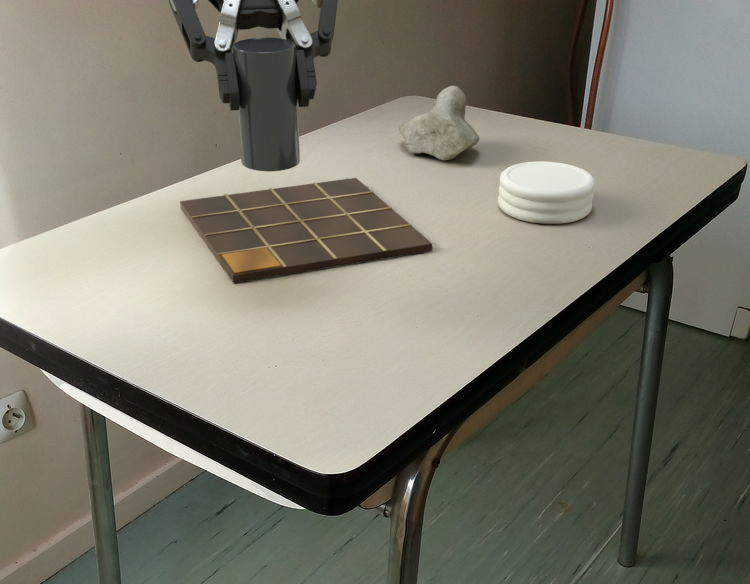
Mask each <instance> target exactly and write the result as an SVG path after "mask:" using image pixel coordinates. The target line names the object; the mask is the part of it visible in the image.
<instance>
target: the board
mask: <svg viewBox="0 0 750 584" xmlns="http://www.w3.org/2000/svg"><path fill="white" fill-rule="evenodd" d="M179 205H180V210H181V211H182V212H183V214H184V215H185V216H186V218H187V219H188V221H189V223H190V224H191V225H192V227H193V228H194V229H195V231H196V232H197V234H198V235H199V237H200V238H201V239H202V241H203V242H204V243H205V245H206V247H207V248H208V249H209V250H210V252H211V253H212V255H213V256H214V258H215V259H216V261H217V262H218V263H219V265H220V267H221V268H222V269H223V270H224V272H225V273H226V275H227V276H228V277H229V279H230V281H231V282H232V283H233V284H237V283H243V282H251V281H256V280H262V279H269V278H275V277H280V276H287V275H294V274H299V273H305V272H311V271H317V270H324V269H329V268H336V267H342V266H348V265H354V264H360V263H368V262H371V261H372V262H373V261H379V260H385V259H390V258H391V259H392V258H398V257H403V256H410V255H416V254H423V253H429V252H432V251H433V243H432V242H431V241H430V240H428V239H427V238H426V237H425V236H424V235H423V234H422V233H421V232H419V230H417V229H416V228H415V227H414V226H413V225H412V223H409V222H408V221H407V220H406V219H405V218H403V217H402V216H401V215H400V214H399V213H397V211H395V210H394V209H393V207H392V206H390V205H388V204H387V203H386V202H385V201H384V200H382V199H381V197H379V196H378V195H377V194H375V191H373V190H371V189H370V188H369V187H368V186H367V185H365V184H364V183H363V182H362V181H361V180H359V179H358V178H357V177H350V178H343V179H335V180H328V181H320V182H316V181H315V182H314V181H313V182H312V183H307V184H306V183H305V184H298V185H291V186H284V187H275V188H273V187H269V188H268V189H261V190H260V189H259V190H254V191H247V192H237V193H230V194H228V193H225V194H224V195H215V196H210V197H209V196H208V197H202V198H201V197H200V198H194V199H186V200H180V201H179Z"/></svg>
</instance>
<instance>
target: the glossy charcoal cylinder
mask: <svg viewBox="0 0 750 584" xmlns="http://www.w3.org/2000/svg"><path fill="white" fill-rule="evenodd" d="M232 53H234V58H235V66H236V73H237V80H238V88H239V96H240V104H239V110H237V119H238V120H237V122H238V133H239V146H240V148H239V149H240V159H241V160H240V162H241V164H242V165H243V167H245V168H247V169H249V170H253V171H258V172H280V171H286V170H290V169H293V168H295V167H296V166H298V165H300V162H301V153H300V152H301V150H300V149H301V148H300V146H301V145H300V127H299V125H300V124H299V121H300V120H299V104H298V95H297V69H296V45H295V43H294V42H292V41H289V40H286V39H281V37H280V38H279V37H252V38H246V39H242V40H239V41H236V43H235V44H234V45H233V52H232Z"/></svg>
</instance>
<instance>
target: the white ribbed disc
mask: <svg viewBox="0 0 750 584" xmlns="http://www.w3.org/2000/svg"><path fill="white" fill-rule="evenodd" d="M595 188H596V180H595V178H594V176H593V175H592V174H591V173H590V172H589V171H587V170H586V169H583V168H582V167H579V166H576V165H572V164H568V163H563V162H557V161H543V160H541V161H527V162H521V163H520V162H519V163H516V164H513V165H511V166H508V167H507V168H506V169H504V170H503V171H502V172H501V173H500V175H499V187H498V197H497V204H498V207H499V209H500V210H501V211H502V212H503V213H504V214H506V215H508V216H510V217H511V218H513V219H516V220H519V221H524V222H528V223H534V224H540V225H541V224H542V225H559V224H561V225H562V224H568V223H569V224H570V223H572V222H576V221H579V220H582V219H583V218H586V216H588V215H589V214H590V213H591V211H592V209H593V200H594V197H595V193H594V190H595Z"/></svg>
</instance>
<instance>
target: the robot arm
mask: <svg viewBox="0 0 750 584" xmlns="http://www.w3.org/2000/svg"><path fill="white" fill-rule="evenodd" d="M207 1H208V2H209V3H210V4H211V5H212V6H213V7H214V9H216V10H217V12H218V13H219V14H220V15H219V21H218V22H219V23H218V26H217V31H216V36H215V37H212V36H209V35H206V32H205V30H204V28H203V26H202V23H201V21H200V18H199V16H198V14H197V12H196V10H197V9H198V8H199V0H168V4H169V7H170V9H171V11H172V14H173V16H174V19H175V21H176V23H177V26H178V28H179V31H180V34H181V36H182V38H183V41H184V43H185V45H186V48H187V51H188V53H189V55H190V57H191V59H192V61H194V62H196V63H202V62H204V61H206V62H208V63H211V65H213V66H214V68H215V73H216V79H217V80H216V81H217V86H218V95H219V99H220V101H221V103H222V104H228V105H229V110H230V111H238V110H239V104H240V96H239V88H238V80H237V73H236V66H235V58H234V53H233V45H234V44H235V43H236V42H237V39H238V34H239V31H242V30H245V31H246V30H251V29H255V28H263V29H268V30H270V29H271V30H273V29H276V32H277V33H278V35H279V37H280V38H281V39H286V40H289V41H292V42H294V43H295V45H296V69H297V95H298V108H308V107H309V105H310V100H314V98H315V95H316V90H317V85H318V82H317V75H316V68H315V61H314V59H315V58H317V57H321V58H326V57H328V56H329V55H330V54H331V50H332V45H333V39H334V35H335V27H336V19H337V11H338V1H339V0H311V2H312V4H313V5H314V6H315V8H317V9H319V17H318V25H317V26H318V27H317V30H316V31H314V32H309V30H308V28H307V26H306V24H305V22H304V21H303V17H302V12H301V10H300V8H299V6H298V5H297V4H298V2H299V1H300V0H207Z"/></svg>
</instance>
